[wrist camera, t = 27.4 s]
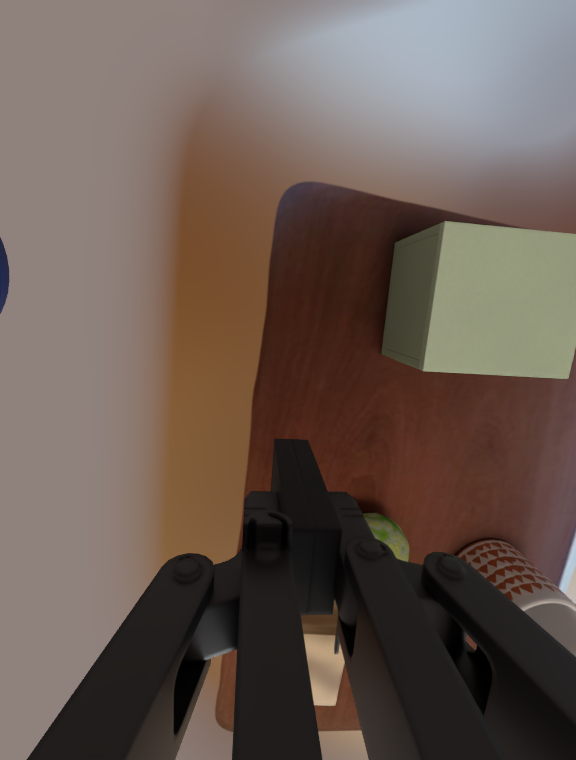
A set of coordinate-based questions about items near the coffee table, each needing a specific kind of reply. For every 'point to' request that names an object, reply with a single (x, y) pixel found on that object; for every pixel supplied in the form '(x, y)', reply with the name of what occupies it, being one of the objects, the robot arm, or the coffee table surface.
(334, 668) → the stand
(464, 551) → the planter
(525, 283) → the lid
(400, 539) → the decorative ball
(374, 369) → the coffee table surface
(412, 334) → the box
